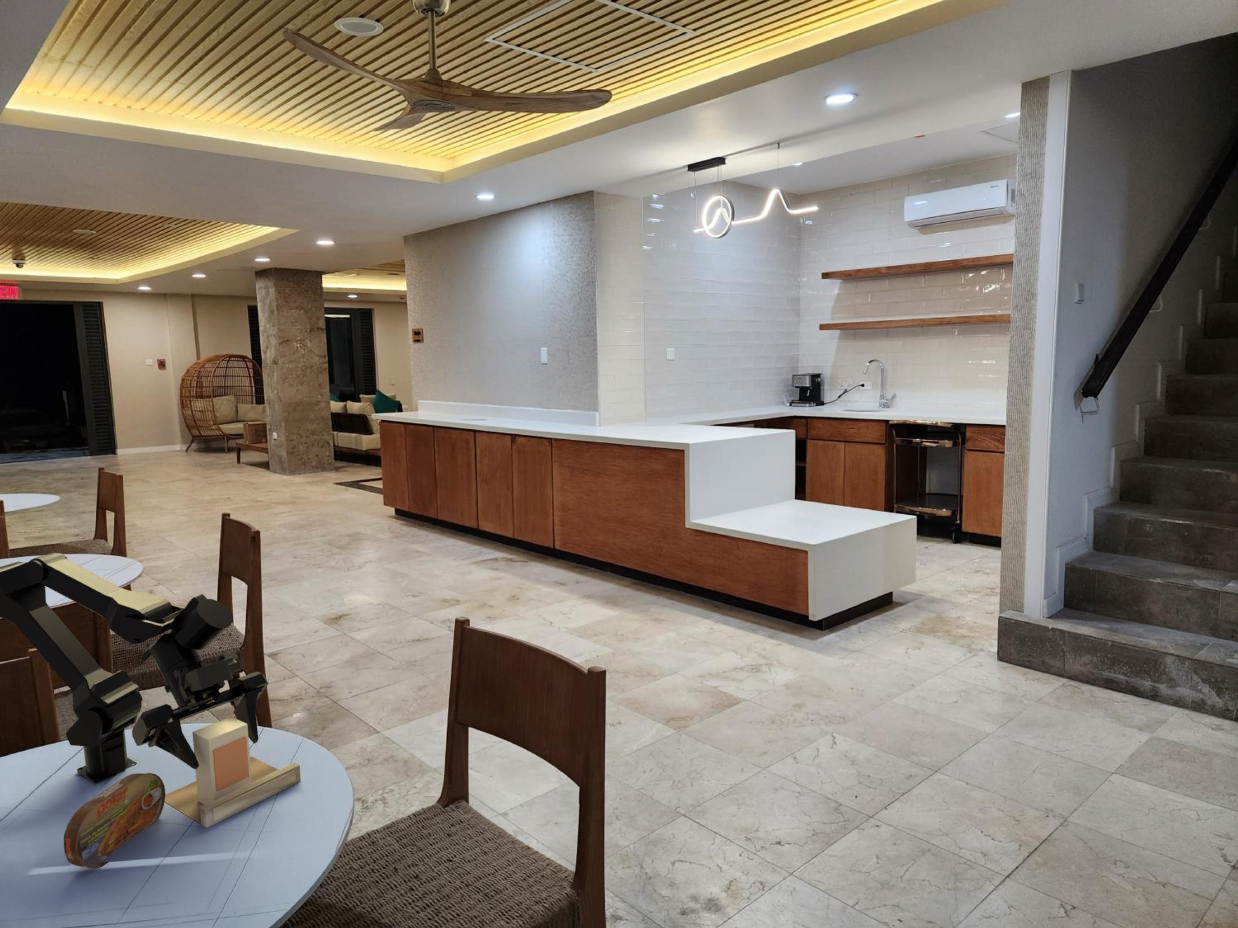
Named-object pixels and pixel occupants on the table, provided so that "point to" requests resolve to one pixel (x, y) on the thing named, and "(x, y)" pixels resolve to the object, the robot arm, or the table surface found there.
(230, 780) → the carton
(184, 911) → the table surface
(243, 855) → the table surface
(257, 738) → the robot arm
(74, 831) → the tin
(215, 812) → the shelf
